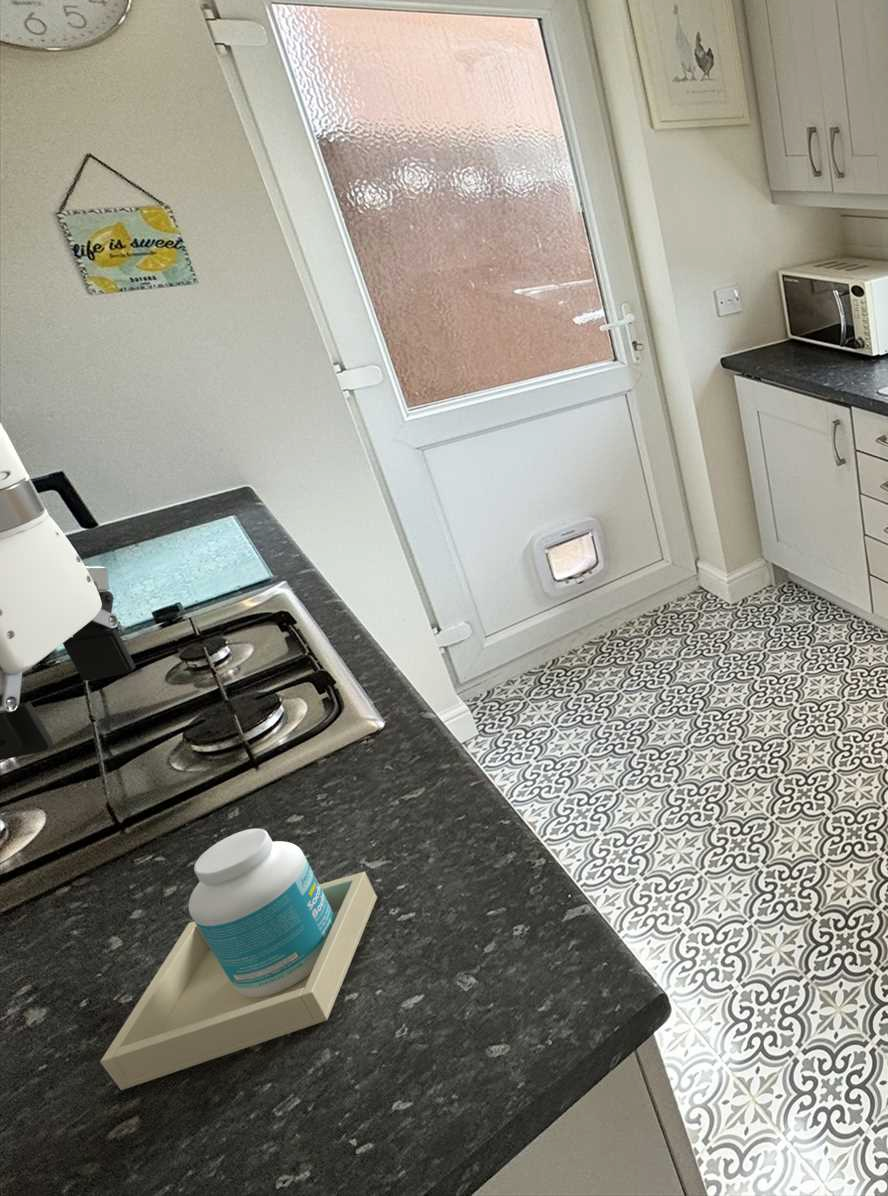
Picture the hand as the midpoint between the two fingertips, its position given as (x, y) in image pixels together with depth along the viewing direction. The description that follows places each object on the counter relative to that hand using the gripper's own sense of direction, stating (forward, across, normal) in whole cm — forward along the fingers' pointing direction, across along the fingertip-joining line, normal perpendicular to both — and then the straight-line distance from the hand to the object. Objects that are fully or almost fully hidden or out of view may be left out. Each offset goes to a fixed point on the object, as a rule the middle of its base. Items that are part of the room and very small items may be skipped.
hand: (70, 711), depth 61 cm
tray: (+28, +4, +6) cm, 29 cm away
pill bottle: (+28, +3, +7) cm, 29 cm away
